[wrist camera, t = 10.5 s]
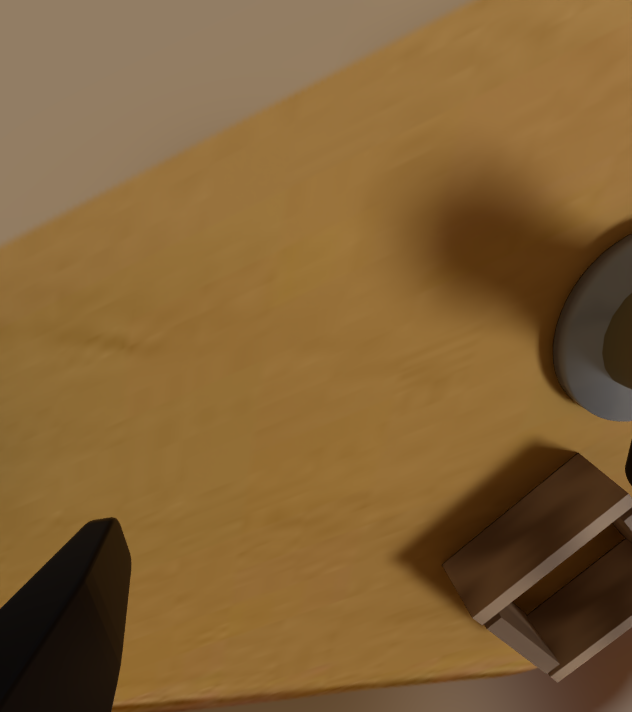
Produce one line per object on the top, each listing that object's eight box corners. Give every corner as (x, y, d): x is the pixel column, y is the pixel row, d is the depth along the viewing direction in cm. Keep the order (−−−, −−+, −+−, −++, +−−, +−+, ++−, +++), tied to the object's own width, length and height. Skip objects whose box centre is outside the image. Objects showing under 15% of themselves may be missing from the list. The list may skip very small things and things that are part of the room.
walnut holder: (523, 630, 32) (557, 682, 29) (442, 564, 28) (472, 617, 25) (644, 536, 31) (694, 580, 28) (578, 452, 27) (628, 493, 23)
